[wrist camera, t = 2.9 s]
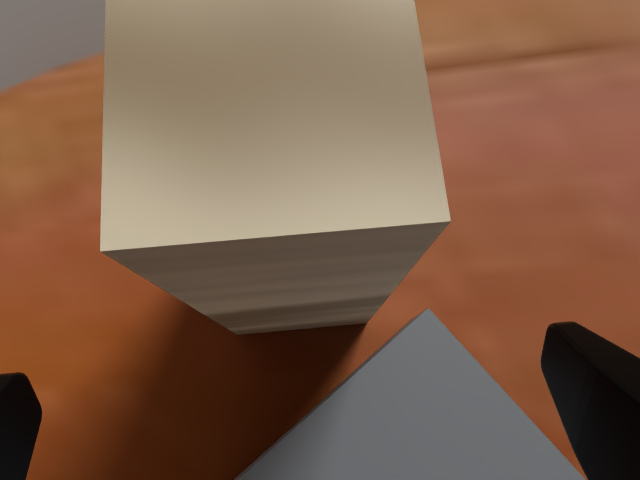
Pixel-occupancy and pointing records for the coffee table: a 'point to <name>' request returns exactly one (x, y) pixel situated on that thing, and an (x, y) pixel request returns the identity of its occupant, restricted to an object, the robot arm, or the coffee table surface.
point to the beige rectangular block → (269, 155)
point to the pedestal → (415, 422)
